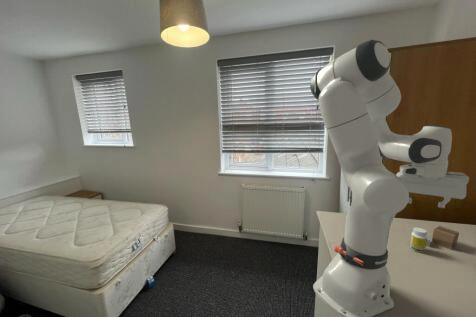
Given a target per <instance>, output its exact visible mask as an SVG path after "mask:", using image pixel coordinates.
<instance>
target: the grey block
mask: <svg viewBox="0 0 476 317" xmlns="http://www.w3.org/2000/svg"><path fill="white" fill-rule="evenodd" d="M426 236H427V242H426V247H428V248H430V247H431V246H430V245H431V243H432V236H429V235H426Z"/></svg>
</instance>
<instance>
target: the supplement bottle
mask: <svg viewBox="0 0 476 317" xmlns="http://www.w3.org/2000/svg"><path fill="white" fill-rule="evenodd" d="M427 232H428V231H427V230H426V229H424V228H420V227H413V230H412V232H411V233H410V234H411V235H410V240H409V249H410V250H412V251H414V252H416V253H420V254H421V253H425V252H426V247H427V246H426V242H427V236H428V235H427ZM426 235H427V236H426Z"/></svg>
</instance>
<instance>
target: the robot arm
mask: <svg viewBox="0 0 476 317" xmlns="http://www.w3.org/2000/svg"><path fill="white" fill-rule="evenodd" d="M390 66H391V56H390V53H389V50H388V49H387V46H386V45H385V44H384V43H383V42H382V41H380V40H377V39H370V40H367V41H364V42H362V43H360V44H358V45H357V47H354V48H353V49H350V50H349V51H347V52H345V53H343V54H342V55H339V56H337V57H336V58H334V59H333V60H331V61H330V62H328V63H327V64H326V65H325V66H323V67H322V68H320V69H318V70H317V71H316V72H315V73H314V74H313V75H312V77H311V78H310V85H309V88H310V92H311V93H312V95H313V96H314V98H315V99H316V100H317V101H318V105H319V111H320V114H321V118H322V121H323V124H324V127H325V130H326V131H327V134H328V137H329V139H330V142H331V144H332V146H333V149H334V152H335V154H336V156H337V159H338V163H339V166H340V169H341V172H342V173H343V178H344V180H345V182H346V185H347V186H348V188H349V190H350V191H351V197H352V198H351V199H352V200H351V204H350V208H349V211H348V213H347V215H346V217H345V226H344V235H343V237H342V240H341V242H340V245H337V244H336V245H335V247H334V250H333V251H334V252H336V253H337V254H336V255H335V256H334V257H333V259H332V260H331V261H330V263H329V264H328V265H327V266H326V268H325V269H324V270H323V274H322V275H321V276H320V277H319V278H318V279H317V280H316V281H315V282H314V283H313V285H312V288H313V291H314V293H315V295H316V296H317V297H318V299H320V301H321V302H323V303H324V305H326V306H327V307H328V309H330V310H331V311H332V312H334V313H335V314H337V315H338V316H340V317H374V316H377V315H378V314H382V313H384V312H386V311H388V310H391V309H393V308H395V302H394V300H393V298H392V297H391V296H390V291H391V275H390V273H389V270H388V268H387V263H388V259H389V251H388V248H387V247H388V241H389V236H390V229H391V225H392V223H393V221H394V218H395V217H396V215H397V214H398V213H400V212H401V211H403V210H404V209H405V208H406V206H407V205H408V204H412V202H413V199H412V197H410V193H412V194H420V195H427V196H428V195H429V196H436V197H441V198H443V200H442V201H438V204H437V207H438V208H440V209H445V208H446V205H447V204H448V203H450V202H451V200H452V199H459V200H464V199H465V198H466V197H467V185H468V184H469V181H470V177H469V176H468V175H467V174H465V173H464V172H455V171H449V170H448V167H449V159H448V157H449V155H450V153H451V149H452V141H453V136H452V135H453V133H452V130H451V128H449V127H446V126H440V125H439V126H438V125H424V126H422V129H421V130H420V131H419V132H418V131H417V133H414V134H412V135H406V134H397V133H395V132H393V131H392V130H390V128H389V125H388V122H387V121H386V119H385V118H386V117H388V116H389V115H390V114H392V113H393V112H394V111H396V109H397V108H398V106H399V105H400V103H401V100H402V94H401V91H400V88H399V86H398V85H397V83H396V81H395V80H394V79H393V77H392V75H391V74H390V73H389V72H388V71H389V69H390ZM382 158H383V159H387V160H388V159H389V160H395V161H400V162H406V164H403V165H400V166H399V171H398V172H397V173H396V174H395V173H393V172H392V171H390V170H388V169H387V168H386V167H385V165H384V164H383V162H382V161H383V160H382Z"/></svg>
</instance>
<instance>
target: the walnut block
mask: <svg viewBox="0 0 476 317" xmlns="http://www.w3.org/2000/svg"><path fill="white" fill-rule="evenodd" d="M459 236H460V232H459V231H457V230H454V229H451V228H448V227H445V226H442V225H439V226H437V227H435V228H434V229H433V233H432V236H431V243H432V244H434V245H437V246H440V247H443V248H446V249H448V250H450V251H451V250H453V249H454V248H455V247H456V246H457V244H458V240H459Z"/></svg>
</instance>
